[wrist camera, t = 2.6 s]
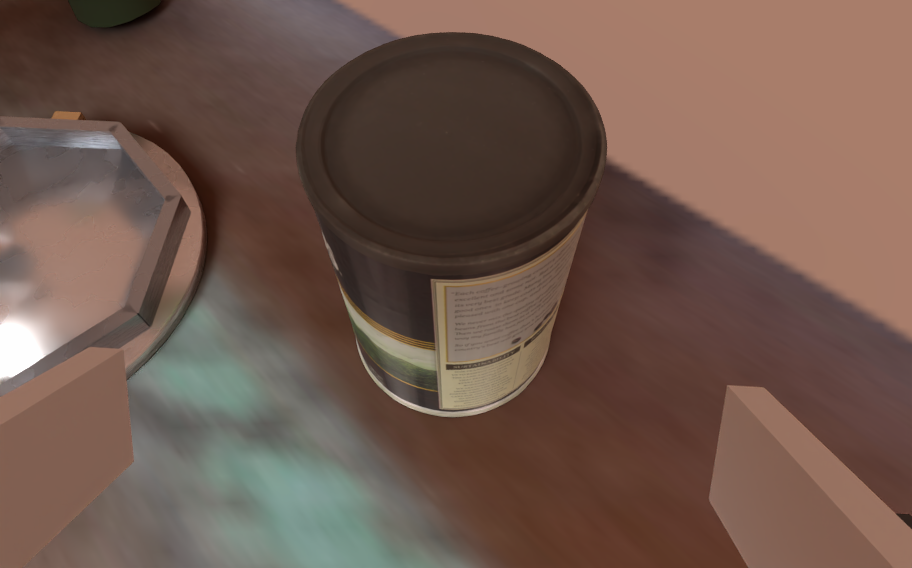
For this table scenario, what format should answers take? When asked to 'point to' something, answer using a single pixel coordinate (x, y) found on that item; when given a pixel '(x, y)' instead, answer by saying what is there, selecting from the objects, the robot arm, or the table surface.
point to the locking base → (91, 243)
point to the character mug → (110, 11)
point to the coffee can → (451, 209)
